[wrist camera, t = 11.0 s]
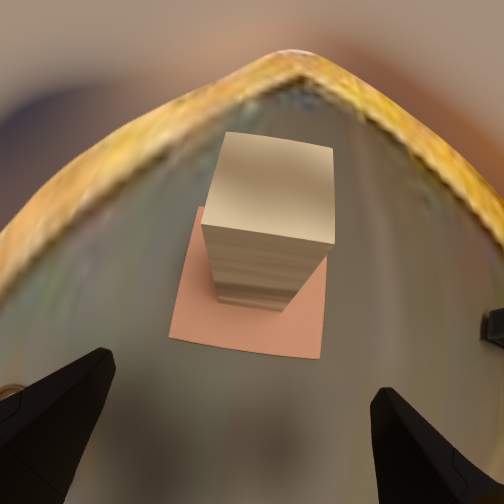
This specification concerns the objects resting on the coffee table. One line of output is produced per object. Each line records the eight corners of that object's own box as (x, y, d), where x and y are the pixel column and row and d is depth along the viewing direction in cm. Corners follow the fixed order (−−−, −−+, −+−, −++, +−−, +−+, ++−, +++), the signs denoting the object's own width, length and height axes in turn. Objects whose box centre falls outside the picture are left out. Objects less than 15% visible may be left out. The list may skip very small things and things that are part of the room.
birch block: (281, 312, 22) (334, 244, 10) (219, 303, 22) (200, 223, 10) (287, 255, 24) (332, 148, 12) (229, 246, 24) (226, 131, 12)
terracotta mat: (318, 359, 21) (319, 359, 21) (169, 337, 21) (168, 337, 21) (326, 227, 26) (327, 225, 26) (199, 208, 26) (198, 206, 26)
